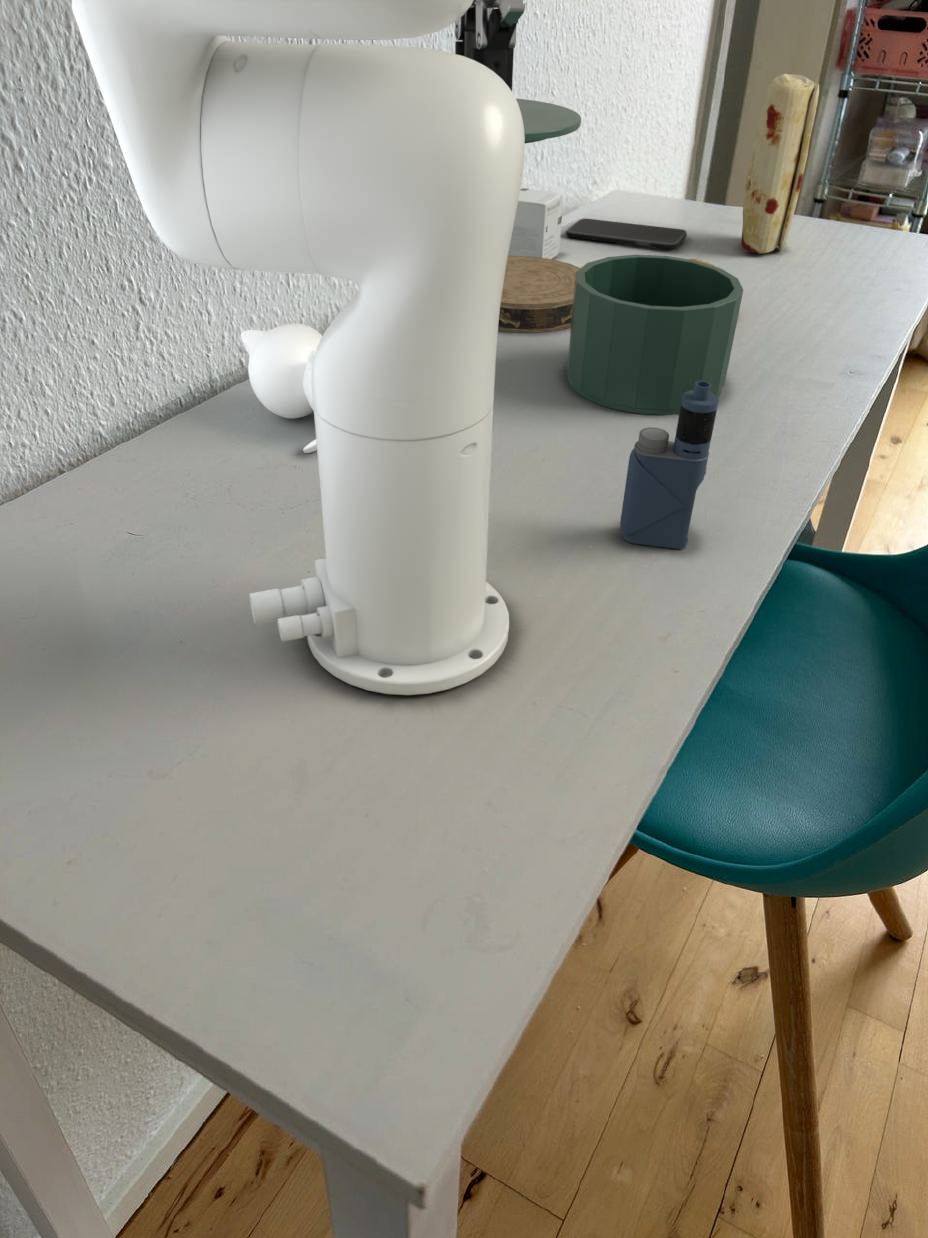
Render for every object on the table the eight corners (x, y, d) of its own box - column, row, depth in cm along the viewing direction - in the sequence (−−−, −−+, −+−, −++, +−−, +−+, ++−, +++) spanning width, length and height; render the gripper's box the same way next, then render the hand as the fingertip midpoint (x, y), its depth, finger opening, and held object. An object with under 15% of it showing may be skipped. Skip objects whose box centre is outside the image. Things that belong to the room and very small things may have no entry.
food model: (739, 235, 129) (772, 66, 117) (790, 242, 127) (828, 70, 115) (728, 256, 122) (761, 78, 109) (782, 263, 120) (822, 82, 107)
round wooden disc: (555, 343, 97) (557, 314, 96) (422, 313, 103) (421, 285, 102) (613, 297, 109) (617, 271, 107) (490, 273, 114) (491, 247, 113)
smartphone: (580, 217, 131) (688, 229, 127) (580, 224, 132) (687, 236, 127) (564, 231, 126) (676, 244, 121) (563, 238, 126) (675, 251, 122)
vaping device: (691, 552, 68) (723, 394, 60) (617, 543, 68) (639, 385, 61) (692, 533, 70) (722, 377, 62) (619, 524, 70) (641, 369, 63)
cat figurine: (379, 323, 75) (259, 290, 80) (316, 432, 73) (194, 392, 77) (409, 388, 83) (298, 355, 87) (353, 489, 81) (241, 450, 85)
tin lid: (414, 156, 68) (413, 47, 64) (363, 114, 80) (359, 20, 76) (612, 145, 72) (623, 42, 68) (536, 107, 84) (541, 17, 80)
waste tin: (607, 423, 83) (620, 316, 77) (543, 359, 94) (550, 261, 88) (752, 403, 87) (775, 300, 81) (674, 344, 98) (689, 249, 92)
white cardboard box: (541, 267, 116) (546, 204, 112) (496, 260, 118) (499, 197, 114) (559, 254, 121) (564, 192, 116) (515, 247, 123) (519, 186, 118)
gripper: (404, -202, 69) (408, 87, 80) (478, -217, 56) (470, 126, 68) (501, -197, 71) (492, 84, 82) (593, -211, 58) (567, 122, 70)
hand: (482, 100), depth 75 cm, fingers closed on tin lid, 3 cm apart
